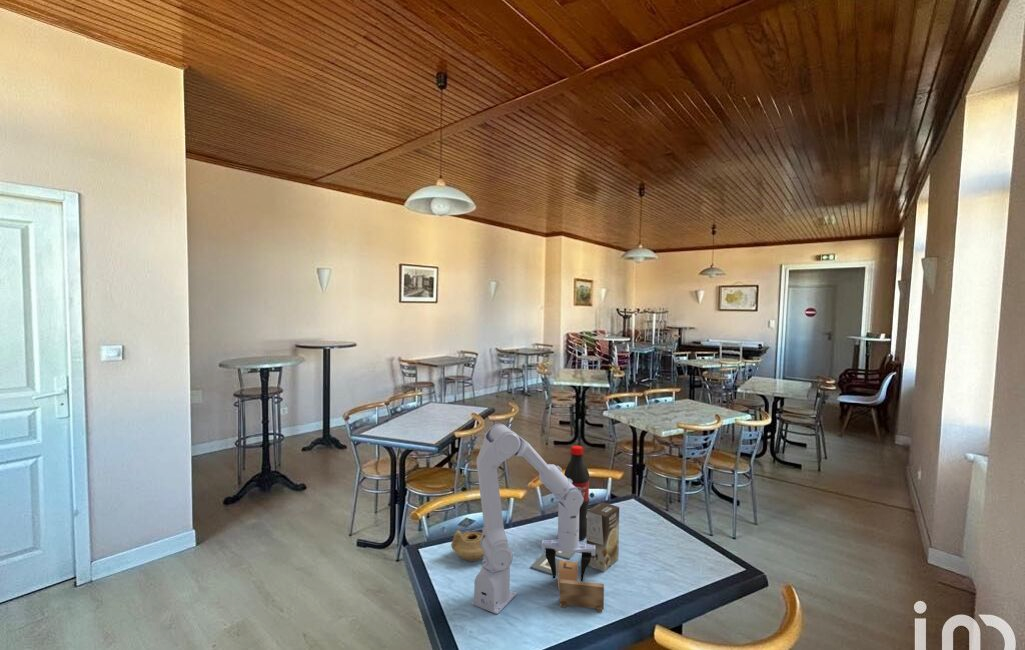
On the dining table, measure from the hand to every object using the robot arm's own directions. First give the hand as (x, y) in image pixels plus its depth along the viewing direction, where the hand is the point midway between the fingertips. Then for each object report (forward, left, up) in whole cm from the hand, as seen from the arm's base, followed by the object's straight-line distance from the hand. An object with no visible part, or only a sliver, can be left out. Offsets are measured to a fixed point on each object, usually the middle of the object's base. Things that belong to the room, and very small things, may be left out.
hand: (568, 577), depth 120 cm
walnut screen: (-7, -6, -2) cm, 9 cm away
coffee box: (+15, -4, -2) cm, 16 cm away
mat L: (+5, +9, -2) cm, 10 cm away
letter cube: (0, 0, -2) cm, 2 cm away
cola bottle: (+26, +9, -2) cm, 28 cm away
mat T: (+15, +9, -2) cm, 18 cm away
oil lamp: (-2, +30, -2) cm, 30 cm away
